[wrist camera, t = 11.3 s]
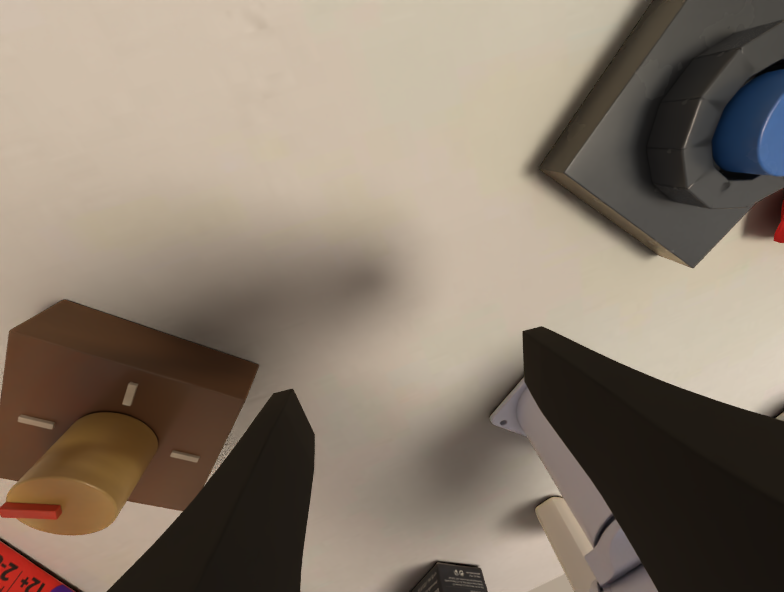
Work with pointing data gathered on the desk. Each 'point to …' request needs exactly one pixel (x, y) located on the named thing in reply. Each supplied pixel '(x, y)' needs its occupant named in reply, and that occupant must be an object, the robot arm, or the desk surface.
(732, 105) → the power button
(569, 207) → the desk surface
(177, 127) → the desk surface
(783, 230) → the candy bar
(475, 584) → the box
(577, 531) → the eye dropper bottle
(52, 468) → the dimmer knob
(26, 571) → the board game
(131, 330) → the dimmer panel
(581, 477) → the robot arm
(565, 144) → the switch block
